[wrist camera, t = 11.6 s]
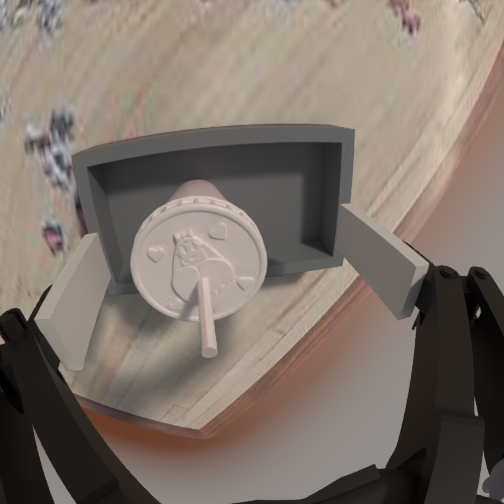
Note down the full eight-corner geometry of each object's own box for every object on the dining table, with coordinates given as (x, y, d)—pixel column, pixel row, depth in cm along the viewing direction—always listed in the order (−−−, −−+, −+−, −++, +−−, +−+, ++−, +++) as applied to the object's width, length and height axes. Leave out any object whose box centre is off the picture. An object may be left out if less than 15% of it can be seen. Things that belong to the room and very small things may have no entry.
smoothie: (173, 251, 22) (163, 406, 10) (142, 179, 19) (68, 295, 7) (248, 225, 22) (310, 365, 10) (224, 149, 19) (277, 221, 7)
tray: (91, 147, 18) (71, 155, 14) (329, 124, 20) (354, 129, 17) (118, 269, 23) (108, 296, 20) (323, 244, 26) (342, 265, 22)
